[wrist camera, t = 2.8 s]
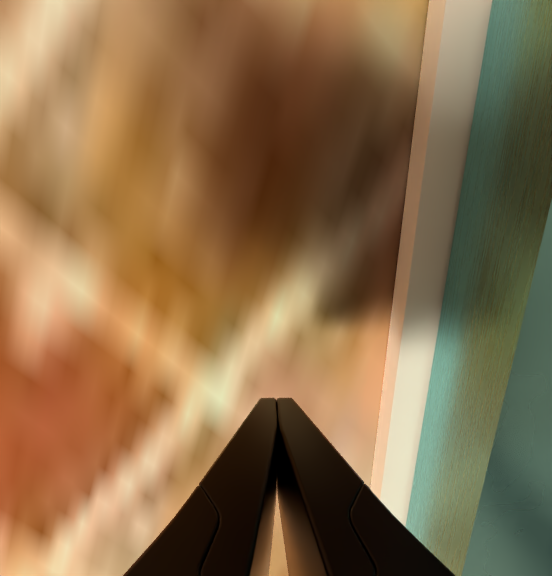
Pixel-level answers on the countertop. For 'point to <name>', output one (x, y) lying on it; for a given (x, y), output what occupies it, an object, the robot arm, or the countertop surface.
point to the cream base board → (427, 236)
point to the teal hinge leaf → (496, 325)
